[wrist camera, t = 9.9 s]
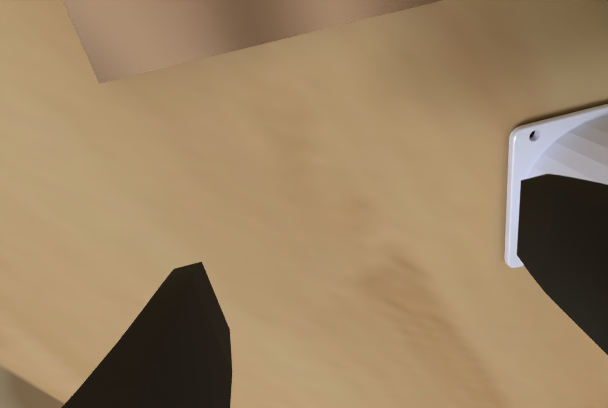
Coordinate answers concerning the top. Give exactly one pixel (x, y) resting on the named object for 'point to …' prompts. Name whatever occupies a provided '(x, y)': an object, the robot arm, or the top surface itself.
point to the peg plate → (201, 27)
